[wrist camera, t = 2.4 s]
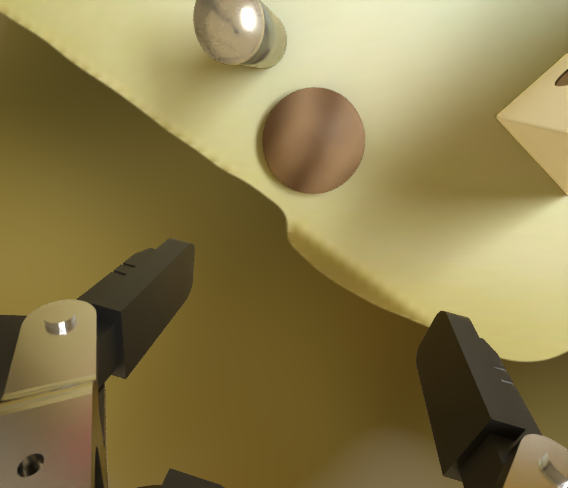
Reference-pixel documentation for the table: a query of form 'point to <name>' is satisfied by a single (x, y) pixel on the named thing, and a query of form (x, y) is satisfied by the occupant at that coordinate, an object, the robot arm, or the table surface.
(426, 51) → the table surface
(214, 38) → the grey can
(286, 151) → the disc
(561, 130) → the gable box
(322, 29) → the table surface
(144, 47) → the table surface
